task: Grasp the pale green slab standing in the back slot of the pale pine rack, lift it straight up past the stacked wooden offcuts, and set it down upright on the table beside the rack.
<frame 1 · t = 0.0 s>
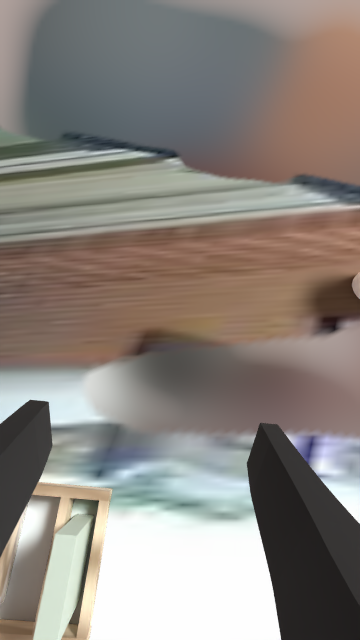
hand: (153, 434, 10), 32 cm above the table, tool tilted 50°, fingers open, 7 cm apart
rack: (34, 551, 34), on the table
pale green slab: (78, 555, 35), on the table
offcut lower: (1, 547, 35), on the table, touching offcut upper
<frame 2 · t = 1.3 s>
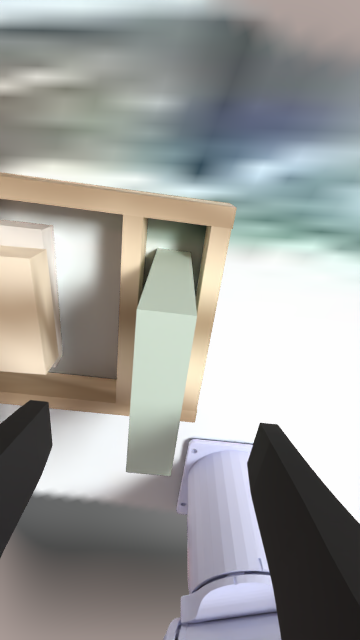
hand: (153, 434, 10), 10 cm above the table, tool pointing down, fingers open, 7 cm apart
offcut upper: (19, 304, 18), point 1 cm above the table, touching offcut lower
rack: (90, 301, 19), on the table
pale green slab: (167, 310, 20), on the table
offcut lower: (30, 291, 20), on the table, touching offcut upper
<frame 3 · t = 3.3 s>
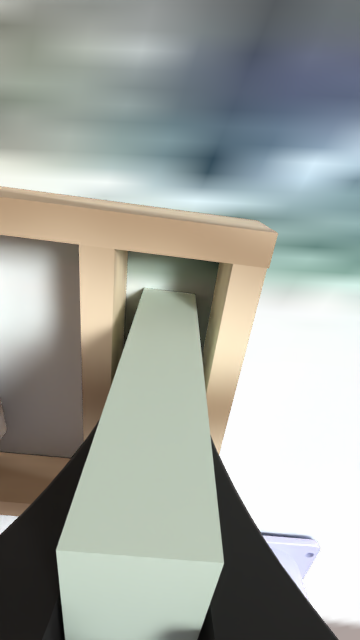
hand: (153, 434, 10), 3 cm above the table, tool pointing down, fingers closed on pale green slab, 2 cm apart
rack: (47, 362, 13), on the table
pale green slab: (160, 374, 13), on the table, touching gripper
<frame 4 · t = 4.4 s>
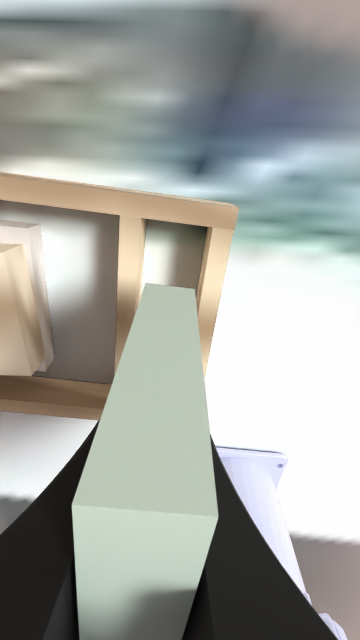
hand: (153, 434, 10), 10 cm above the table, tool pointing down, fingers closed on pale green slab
offcut upper: (0, 304, 17), point 1 cm above the table, touching offcut lower
rack: (87, 305, 19), on the table
pale green slab: (160, 366, 14), point 6 cm above the table, touching gripper
offcut lower: (19, 292, 19), on the table, touching offcut upper
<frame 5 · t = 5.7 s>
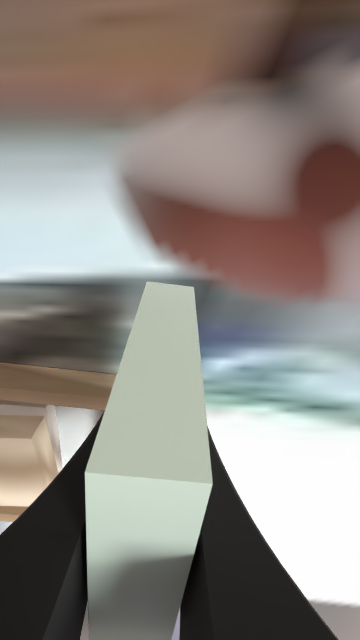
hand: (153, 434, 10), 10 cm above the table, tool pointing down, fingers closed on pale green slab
offcut upper: (26, 450, 22), point 1 cm above the table, touching offcut lower
rack: (89, 442, 24), on the table
pale green slab: (161, 362, 14), point 5 cm above the table, touching gripper
offcut lower: (36, 431, 24), on the table, touching offcut upper
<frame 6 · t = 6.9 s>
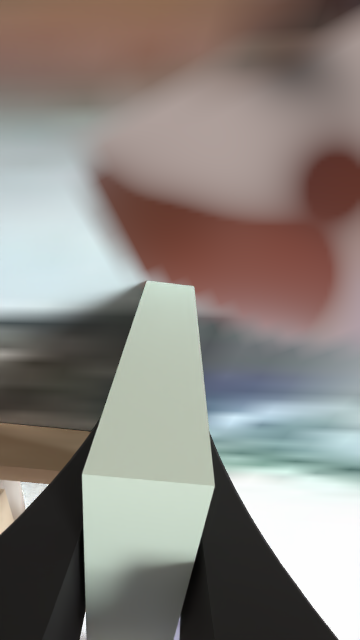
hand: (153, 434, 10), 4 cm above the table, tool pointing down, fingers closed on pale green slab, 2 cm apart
rack: (66, 508, 19), on the table
pale green slab: (161, 362, 14), on the table, touching gripper
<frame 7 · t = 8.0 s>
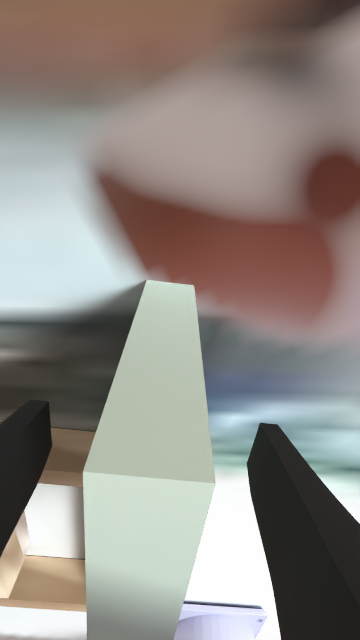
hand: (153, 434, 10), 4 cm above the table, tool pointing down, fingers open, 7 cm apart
rack: (66, 508, 19), on the table
pale green slab: (161, 361, 14), on the table
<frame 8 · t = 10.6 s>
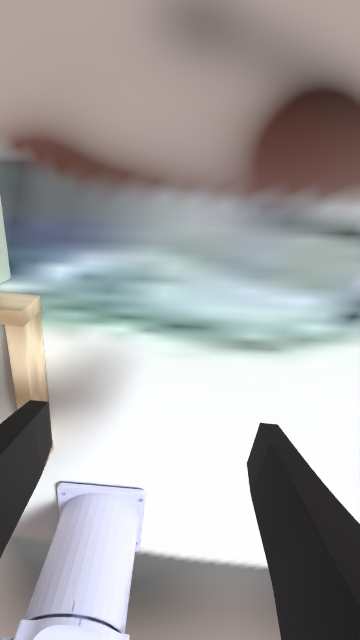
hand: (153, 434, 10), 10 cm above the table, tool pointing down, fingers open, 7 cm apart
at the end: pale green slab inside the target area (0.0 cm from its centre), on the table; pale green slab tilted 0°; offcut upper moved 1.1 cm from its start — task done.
